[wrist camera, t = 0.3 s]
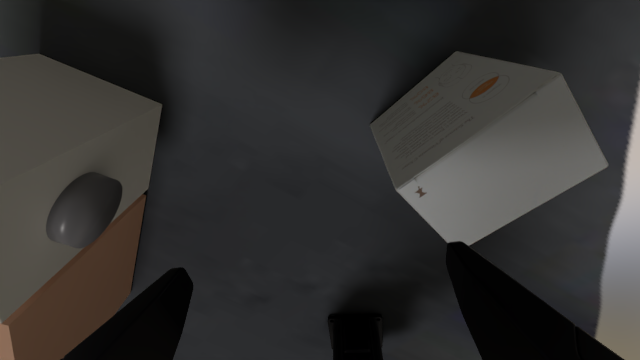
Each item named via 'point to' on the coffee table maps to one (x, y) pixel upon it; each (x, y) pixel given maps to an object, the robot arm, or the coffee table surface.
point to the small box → (485, 144)
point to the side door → (77, 295)
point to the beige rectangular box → (64, 166)
